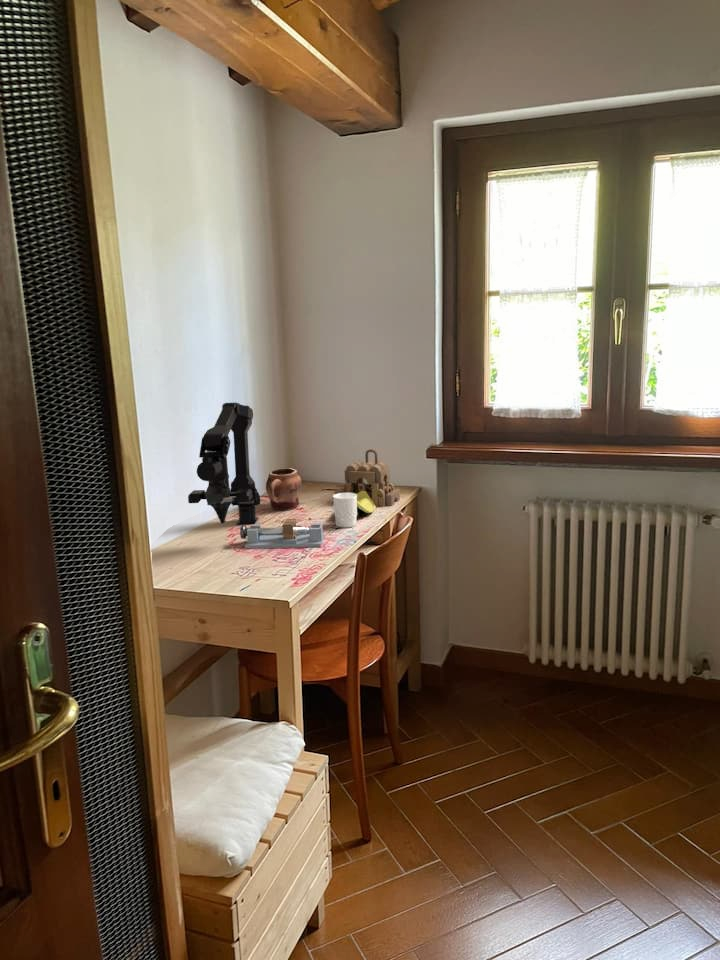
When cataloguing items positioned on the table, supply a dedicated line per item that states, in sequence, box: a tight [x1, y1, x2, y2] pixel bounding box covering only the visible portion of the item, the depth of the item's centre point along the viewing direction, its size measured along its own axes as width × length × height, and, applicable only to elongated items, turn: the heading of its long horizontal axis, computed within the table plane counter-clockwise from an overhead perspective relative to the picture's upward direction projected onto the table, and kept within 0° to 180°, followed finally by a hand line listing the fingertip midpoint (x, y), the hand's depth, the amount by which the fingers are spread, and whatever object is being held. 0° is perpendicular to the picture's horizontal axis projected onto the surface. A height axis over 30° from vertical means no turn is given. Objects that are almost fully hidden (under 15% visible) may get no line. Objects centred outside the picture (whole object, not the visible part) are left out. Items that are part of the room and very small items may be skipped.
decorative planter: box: [265, 467, 302, 511], centre depth 263 cm, size 20×12×14 cm, turn 168°
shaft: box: [239, 525, 310, 540], centre depth 225 cm, size 4×21×4 cm, turn 86°
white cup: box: [332, 493, 358, 528], centre depth 240 cm, size 8×8×10 cm
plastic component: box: [357, 491, 377, 517], centre depth 253 cm, size 20×7×10 cm
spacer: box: [282, 518, 297, 540], centre depth 224 cm, size 7×3×6 cm, turn 176°
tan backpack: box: [334, 448, 401, 508], centre depth 268 cm, size 22×15×19 cm, turn 69°
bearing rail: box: [244, 522, 325, 549], centre depth 225 cm, size 10×23×5 cm, turn 86°
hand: (222, 523), depth 225 cm, fingers closed
